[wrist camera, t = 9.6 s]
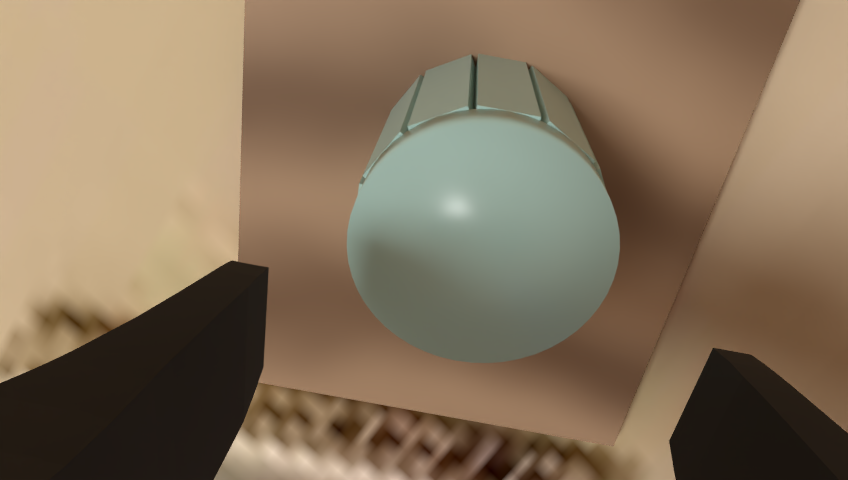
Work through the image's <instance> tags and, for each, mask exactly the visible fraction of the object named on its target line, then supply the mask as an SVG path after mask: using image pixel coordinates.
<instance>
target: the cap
mask: <svg viewBox="0 0 848 480" xmlns="http://www.w3.org/2000/svg"><path fill="white" fill-rule="evenodd" d="M619 252H620V234H619V227H618V222H617V217H616V214H615V211H614V208H613V205H612V202H611V200H610V197H609V195H608V193H607V190H606V188H605V184H604V181H603V177H602V173H601V169H600V167H599V165H598V162H597V160H596V158H595V156H594V153H593V151H592V149H591V147H590V145H589V142H588V140H587V138H586V136H585V133H584V131H583V129H582V127H581V125H580V122H579V120H578V118H577V116H576V113H575V111H574V109H573V107H572V105H571V102H569V100H568V98H567V96H566V95H565V94H564V93H562V92H561V91H560V90H559V89H558V88H557V87H556V86H555V85H554V84H552V83H551V82H550V81H549V80H548V79H547V78H546V77H545V76H544V75H542V74H541V73H540V72H539V71H538V70H537V69H536V68H535V67H533V66H531V67H530V69H529V70H528V68H527V64H526V62H521V61H516V60H511V59H505V58H500V57H494V56H489V55H484V54H478V58H477V63H476V67H475V64H474V61H473V58H472V55H471V54H470V55H468V56H465V57H462V58H459V59H457V60H454V61H451V62H448V63H446V64H443V65H440V66H437V67H435V68H432V69H429V70H426V73H425V76H424V77H423V76H422V75H420V76H419V77H418V78H417V79H416V81H415V82H414V83H413V84H412V86H411V87H410V88H409V89H408V90H407V92H406V93H405V94H404V95H403V96H402V98H401V99H400V100H399V101H398V103H397V104H396V105H395V106H394V107H393V109H392V110H391V112H390V115H389V117H388V119H387V121H386V124H385V126H384V128H383V130H382V133H381V135H380V137H379V139H378V142H377V144H376V146H375V149H374V151H373V153H372V155H371V158H370V160H369V162H368V164H367V167H366V169H365V171H364V174H363V176H362V178H361V180H360V183H359V189H358V196H357V198H356V201H355V204H354V207H353V209H352V212H351V215H350V220H349V225H348V230H347V255H348V263H349V267H350V271H351V275H352V278H353V280H354V283H355V285H356V288H357V290H358V292H359V294H360V295H361V297H362V299H363V301H364V302H365V304H366V305H367V307H368V308H369V309H370V311H371V312H372V313H373V314H374V316H375V317H376V318H377V319H378V320H379V321H380V322H381V323H382V324H383V325H384V326H385V327H386V328H387V329H389V330H390V331H391V332H392V333H394V334H395V335H396V336H398V337H399V338H401V339H402V340H404V341H405V342H407V343H409V344H410V345H412V346H414V347H416V348H418V349H421V350H423V351H425V352H428V353H430V354H433V355H436V356H439V357H443V358H447V359H451V360H455V361H463V362H470V363H495V362H505V361H511V360H516V359H521V358H524V357H528V356H531V355H534V354H537V353H539V352H542V351H544V350H546V349H549V348H551V347H553V346H554V345H556V344H558V343H560V342H562V341H563V340H565V339H566V338H568V337H569V336H570V335H572V334H573V333H575V332H576V331H577V330H578V329H579V328H580V327H582V326H583V325H584V324H585V323H586V322H587V321H588V320H589V319H590V318H591V316H592V315H593V314H594V313H595V312H596V310H597V309H598V308H599V307H600V305H601V303H602V302H603V300H604V299H605V297H606V295H607V294H608V291H609V289H610V287H611V285H612V282H613V280H614V277H615V273H616V270H617V266H618V260H619Z"/></svg>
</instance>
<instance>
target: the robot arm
mask: <svg viewBox="0 0 848 480" xmlns="http://www.w3.org/2000/svg"><path fill="white" fill-rule="evenodd" d="M268 274H269V267H264V266H258V265H253V264H247V263H242V262H236V261H230V262H228V263H226V264H224V265H223V266H221V267H219V268H217V269H216V270H214V271H212V272H211V273H209V274H208V275H206V276H204V277H203V278H201V279H199V280H198V281H196V282H195V283H193V284H191V285H190V286H188V287H186V288H185V289H183V290H182V291H180V292H178V293H177V294H175V295H173V296H172V297H170V298H168V299H166V300H165V301H163V302H161V303H160V304H158V305H156V306H155V307H153V308H151V309H149V310H148V311H146V312H144V313H143V314H141V315H139V316H138V317H136V318H134V319H132V320H130V321H128V322H126V323H125V324H123V325H121V326H119V327H117V328H115V329H113V330H111V331H109V332H108V333H106V334H104V335H102V336H100V337H98V338H96V339H94V340H92V341H90V342H89V343H87V344H85V345H83V346H81V347H79V348H77V349H75V350H73V351H71V352H69V353H67V354H65V355H63V356H61V357H59V358H57V359H55V360H52V361H50V362H48V363H46V364H44V365H42V366H39V367H37V368H35V369H33V370H30V371H28V372H26V373H23V374H21V375H19V376H16V377H14V378H11V379H9V380H7V381H4V382H2V383H0V480H214V478H215V476H216V474H217V472H218V470H219V468H220V466H221V464H222V462H223V461H224V459H225V457H226V455H227V453H228V451H229V449H230V447H231V445H232V443H233V441H234V439H235V437H236V435H237V433H238V431H239V429H240V427H241V425H242V423H243V422H244V419H245V416H246V414H247V411H248V408H249V406H250V403H251V401H252V398H253V395H254V392H255V390H256V387H257V384H258V381H259V379H260V376H261V373H262V370H263V368H264V349H265V330H266V311H267V293H268ZM669 442H670V448H671V454H672V461H673V467H674V473H675V478H676V480H848V433H847V432H846V431H844V430H843V429H842V428H841V427H840V426H839V425H837V424H836V423H835V422H834V421H833V420H831V419H830V418H829V417H828V416H827V415H826V414H824V413H823V412H822V411H821V410H820V409H818V408H817V407H816V406H815V405H814V404H813V403H811V402H810V401H809V400H808V399H807V398H805V397H804V396H803V395H802V394H801V393H799V392H798V391H797V390H796V389H795V388H793V387H792V386H791V385H790V384H789V383H787V382H786V381H785V380H784V379H783V378H781V377H780V376H779V375H778V374H776V373H775V372H774V371H772V370H771V369H770V368H769V367H767V366H766V365H765V364H763V363H762V362H761V361H759V360H758V359H756V358H755V357H753V356H752V355H749V354H744V353H738V352H733V351H727V350H722V349H716V348H713V350H712V352H711V354H710V356H709V358H708V360H707V362H706V364H705V366H704V369H703V371H702V373H701V375H700V377H699V379H698V381H697V383H696V385H695V388H694V390H693V392H692V394H691V396H690V398H689V400H688V402H687V405H686V407H685V409H684V411H683V413H682V415H681V417H680V419H679V421H678V424H677V426H676V428H675V430H674V432H673V434H672V436H671V438H670V440H669Z"/></svg>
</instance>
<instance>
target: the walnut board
mask: <svg viewBox="0 0 848 480" xmlns="http://www.w3.org/2000/svg"><path fill="white" fill-rule="evenodd" d="M799 2H800V0H245V22H244V60H243V99H242V137H241V176H240V214H239V253H238V262H242V263H247V264H253V265H258V266H264V267H269V274H268V293H267V311H266V330H265V349H264V368H263V370H262V373H261V376H260V379H259V381H258V382H259V383H264V384H270V385H275V386H281V387H287V388H292V389H298V390H303V391H309V392H314V393H320V394H325V395H331V396H337V397H342V398H348V399H353V400H359V401H364V402H370V403H375V404H381V405H387V406H392V407H398V408H403V409H409V410H414V411H420V412H425V413H431V414H437V415H442V416H448V417H453V418H459V419H464V420H470V421H476V422H481V423H487V424H492V425H498V426H503V427H509V428H514V429H520V430H526V431H531V432H537V433H542V434H548V435H553V436H559V437H564V438H570V439H576V440H581V441H587V442H592V443H598V444H603V445H609V446H614V443H615V441H616V439H617V436H618V434H619V432H620V429H621V427H622V424H623V422H624V420H625V417H626V415H627V412H628V410H629V408H630V405H631V403H632V400H633V398H634V396H635V393H636V391H637V389H638V386H639V384H640V381H641V379H642V377H643V374H644V372H645V369H646V367H647V365H648V362H649V360H650V357H651V355H652V353H653V350H654V348H655V346H656V343H657V341H658V338H659V336H660V334H661V331H662V329H663V326H664V324H665V322H666V319H667V317H668V314H669V312H670V310H671V307H672V305H673V303H674V300H675V298H676V295H677V293H678V291H679V288H680V286H681V283H682V281H683V279H684V276H685V274H686V271H687V269H688V267H689V264H690V262H691V260H692V257H693V255H694V252H695V250H696V248H697V245H698V243H699V240H700V238H701V236H702V233H703V231H704V228H705V226H706V224H707V221H708V219H709V217H710V214H711V212H712V209H713V207H714V205H715V202H716V200H717V197H718V195H719V193H720V190H721V188H722V185H723V183H724V181H725V178H726V176H727V174H728V171H729V169H730V166H731V164H732V162H733V159H734V157H735V154H736V152H737V150H738V147H739V145H740V142H741V140H742V138H743V135H744V133H745V131H746V128H747V126H748V123H749V121H750V119H751V116H752V114H753V111H754V109H755V107H756V104H757V102H758V99H759V97H760V95H761V92H762V90H763V88H764V85H765V83H766V80H767V78H768V76H769V73H770V71H771V68H772V66H773V64H774V61H775V59H776V56H777V54H778V52H779V49H780V47H781V45H782V42H783V40H784V37H785V35H786V33H787V30H788V28H789V25H790V23H791V21H792V18H793V16H794V13H795V11H796V9H797V6H798V4H799ZM470 54H471V55H472V58H473V61H474V64H475V67H476V63H477V58H478V54H484V55H489V56H494V57H500V58H505V59H511V60H516V61H521V62H526V64H527V68H528V70H529V69H530V67H531V66H533V67H535V68H536V69H537V70H538V71H539V72H540V73H541V74H542V75H544V76H545V77H546V78H547V79H548V80H549V81H550V82H551V83H552V84H554V85H555V86H556V87H557V88H558V89H559V90H560V91H561V92H562V93H564V94H565V95H566V96H567V98H568V100H569V102H571V105H572V107H573V109H574V111H575V113H576V116H577V118H578V120H579V122H580V125H581V127H582V129H583V131H584V133H585V136H586V138H587V140H588V142H589V145H590V147H591V149H592V151H593V153H594V156H595V158H596V160H597V162H598V165H599V167H600V169H601V173H602V177H603V181H604V184H605V188H606V190H607V193H608V195H609V197H610V200H611V202H612V205H613V208H614V211H615V214H616V217H617V222H618V227H619V234H620V252H619V260H618V266H617V270H616V273H615V277H614V280H613V282H612V285H611V287H610V289H609V291H608V294H607V295H606V297H605V299H604V300H603V302H602V303H601V305H600V307H599V308H598V309H597V310H596V312H595V313H594V314H593V315H592V316H591V318H590V319H589V320H588V321H587V322H586V323H585V324H584V325H583V326H582V327H580V328H579V329H578V330H577V331H576V332H575V333H573V334H572V335H570V336H569V337H568V338H566V339H565V340H563V341H562V342H560V343H558V344H556V345H554V346H553V347H551V348H549V349H546V350H544V351H542V352H539V353H537V354H534V355H531V356H528V357H524V358H521V359H516V360H511V361H505V362H495V363H470V362H463V361H455V360H451V359H447V358H443V357H439V356H436V355H433V354H430V353H428V352H425V351H423V350H421V349H418V348H416V347H414V346H412V345H410V344H409V343H407V342H405V341H404V340H402V339H401V338H399V337H398V336H396V335H395V334H394V333H392V332H391V331H390V330H389V329H387V328H386V327H385V326H384V325H383V324H382V323H381V322H380V321H379V320H378V319H377V318H376V317H375V316H374V314H373V313H372V312H371V311H370V309H369V308H368V307H367V305H366V304H365V302H364V301H363V299H362V297H361V295H360V294H359V292H358V290H357V288H356V285H355V283H354V280H353V278H352V275H351V271H350V267H349V263H348V255H347V230H348V225H349V220H350V215H351V212H352V209H353V207H354V204H355V201H356V198H357V196H358V189H359V183H360V180H361V178H362V176H363V174H364V171H365V169H366V167H367V164H368V162H369V160H370V158H371V155H372V153H373V151H374V149H375V146H376V144H377V142H378V139H379V137H380V135H381V133H382V130H383V128H384V126H385V124H386V121H387V119H388V117H389V115H390V112H391V110H392V109H393V107H394V106H395V105H396V104H397V103H398V101H399V100H400V99H401V98H402V96H403V95H404V94H405V93H406V92H407V90H408V89H409V88H410V87H411V86H412V84H413V83H414V82H415V81H416V79H417V78H418V77H419V76H420V75H422V76H423V77H424V76H425V73H426V70H429V69H432V68H435V67H437V66H440V65H443V64H446V63H448V62H451V61H454V60H457V59H459V58H462V57H465V56H468V55H470Z"/></svg>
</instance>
